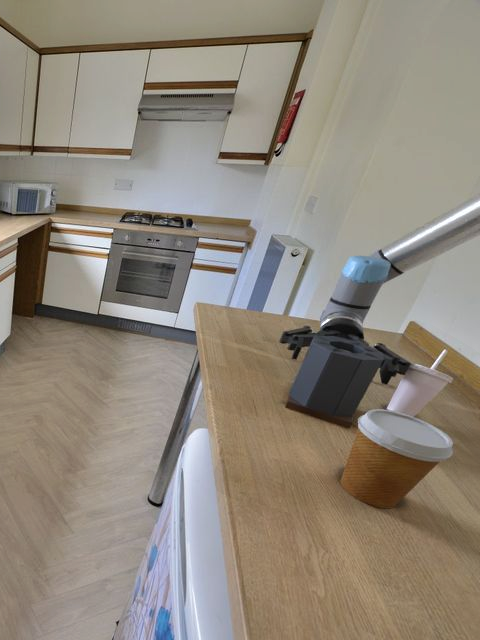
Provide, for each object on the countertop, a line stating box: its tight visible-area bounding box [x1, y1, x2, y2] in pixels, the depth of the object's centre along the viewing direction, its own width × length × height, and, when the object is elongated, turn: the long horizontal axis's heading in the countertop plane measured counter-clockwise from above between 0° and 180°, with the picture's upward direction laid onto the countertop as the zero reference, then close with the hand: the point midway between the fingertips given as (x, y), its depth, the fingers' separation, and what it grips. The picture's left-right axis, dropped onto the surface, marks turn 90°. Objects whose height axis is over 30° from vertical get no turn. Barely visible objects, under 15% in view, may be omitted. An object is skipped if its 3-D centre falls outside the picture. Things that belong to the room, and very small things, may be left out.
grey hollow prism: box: [288, 336, 383, 417], centre depth 79 cm, size 10×10×12 cm
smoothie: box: [386, 349, 454, 418], centre depth 78 cm, size 6×6×14 cm
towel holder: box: [284, 349, 354, 430], centre depth 79 cm, size 10×10×12 cm
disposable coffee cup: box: [339, 408, 454, 509], centre depth 59 cm, size 10×10×12 cm
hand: (340, 364), depth 78 cm, fingers open, 13 cm apart
